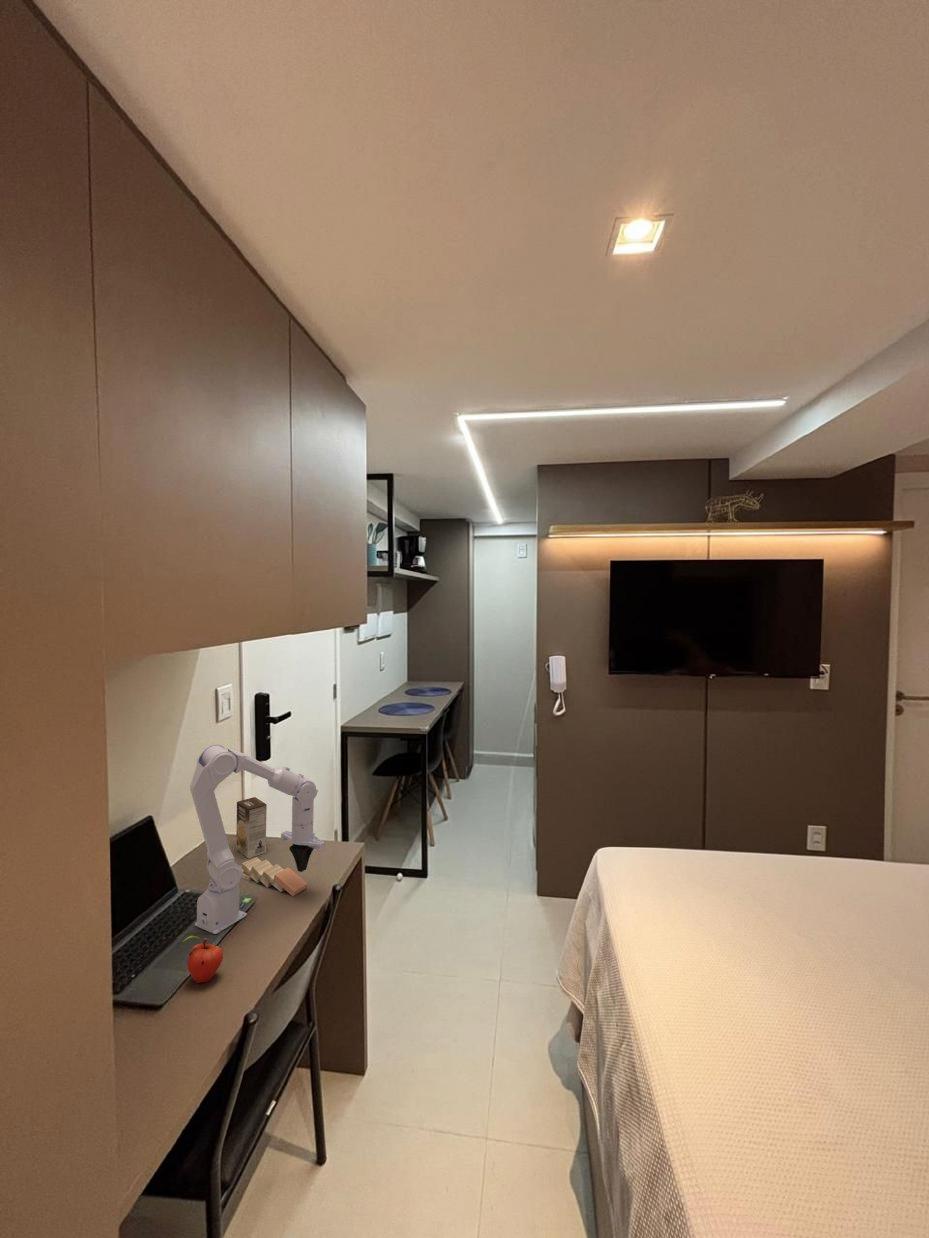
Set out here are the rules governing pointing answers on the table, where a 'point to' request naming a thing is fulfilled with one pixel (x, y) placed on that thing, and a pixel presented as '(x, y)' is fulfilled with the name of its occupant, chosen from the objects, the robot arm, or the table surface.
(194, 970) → the apple
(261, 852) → the coffee box
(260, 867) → the cream domino
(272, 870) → the cream domino
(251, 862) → the cream domino
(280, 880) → the terracotta domino
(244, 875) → the cream domino
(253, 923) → the table surface
